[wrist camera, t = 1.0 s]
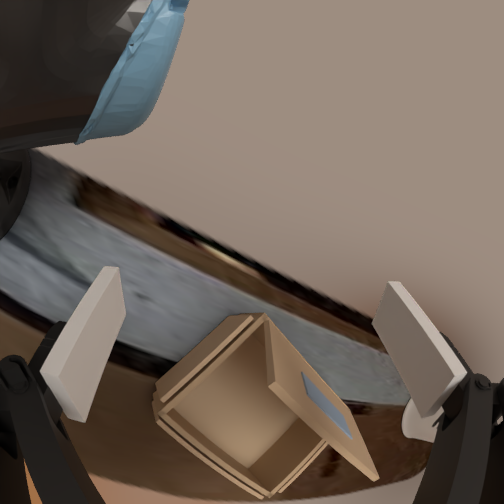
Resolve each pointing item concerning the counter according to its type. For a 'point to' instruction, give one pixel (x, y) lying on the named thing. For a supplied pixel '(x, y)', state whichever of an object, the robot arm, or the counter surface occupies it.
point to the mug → (419, 423)
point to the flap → (313, 400)
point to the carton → (235, 410)
